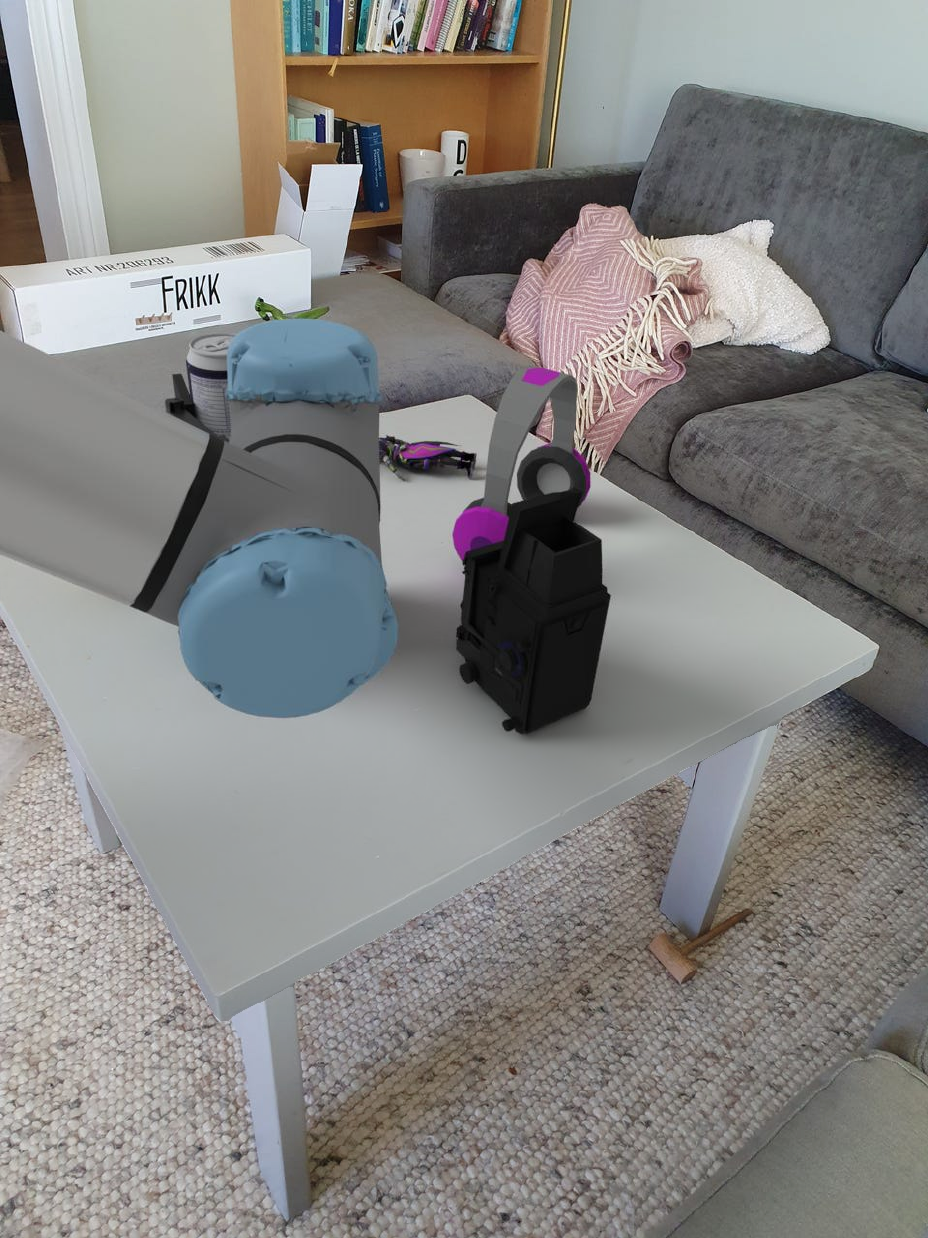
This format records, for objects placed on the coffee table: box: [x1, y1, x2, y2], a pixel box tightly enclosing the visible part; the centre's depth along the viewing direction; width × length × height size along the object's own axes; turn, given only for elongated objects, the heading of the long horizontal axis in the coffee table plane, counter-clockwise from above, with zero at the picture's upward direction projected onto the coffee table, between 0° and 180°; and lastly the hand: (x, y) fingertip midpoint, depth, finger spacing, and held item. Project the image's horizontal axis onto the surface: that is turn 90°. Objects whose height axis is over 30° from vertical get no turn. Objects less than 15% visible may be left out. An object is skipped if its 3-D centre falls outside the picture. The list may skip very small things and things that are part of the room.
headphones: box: [452, 364, 592, 562], centre depth 99 cm, size 21×9×20 cm, turn 152°
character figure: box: [379, 434, 477, 481], centre depth 117 cm, size 9×4×16 cm
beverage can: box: [185, 332, 238, 440], centre depth 74 cm, size 6×6×12 cm
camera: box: [455, 487, 612, 734], centre depth 78 cm, size 10×14×20 cm
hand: (217, 386), depth 78 cm, fingers closed on beverage can, 6 cm apart
